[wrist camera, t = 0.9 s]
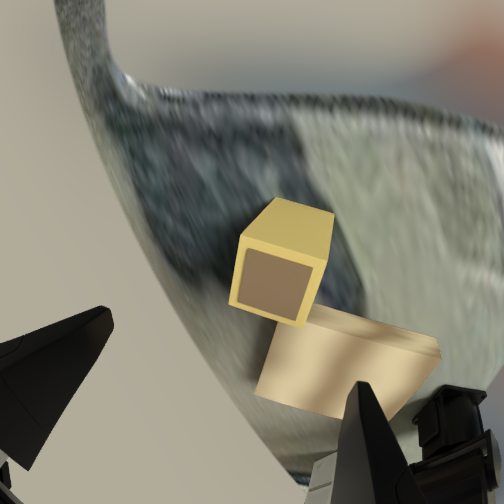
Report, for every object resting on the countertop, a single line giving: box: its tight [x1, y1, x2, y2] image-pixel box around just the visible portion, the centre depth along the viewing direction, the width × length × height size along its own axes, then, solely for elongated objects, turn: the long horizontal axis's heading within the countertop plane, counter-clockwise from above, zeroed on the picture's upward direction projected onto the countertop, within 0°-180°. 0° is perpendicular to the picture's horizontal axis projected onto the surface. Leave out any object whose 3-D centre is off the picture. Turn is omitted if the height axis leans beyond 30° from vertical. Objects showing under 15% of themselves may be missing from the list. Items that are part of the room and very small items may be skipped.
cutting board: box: [254, 303, 441, 421], centre depth 22 cm, size 13×10×2 cm
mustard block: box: [229, 197, 334, 329], centre depth 17 cm, size 4×4×7 cm
